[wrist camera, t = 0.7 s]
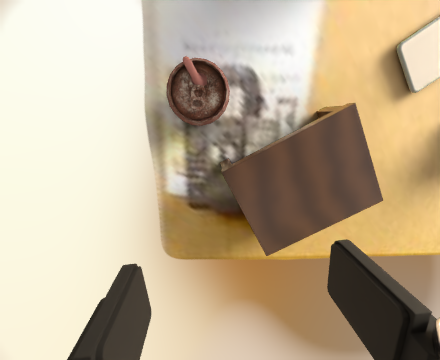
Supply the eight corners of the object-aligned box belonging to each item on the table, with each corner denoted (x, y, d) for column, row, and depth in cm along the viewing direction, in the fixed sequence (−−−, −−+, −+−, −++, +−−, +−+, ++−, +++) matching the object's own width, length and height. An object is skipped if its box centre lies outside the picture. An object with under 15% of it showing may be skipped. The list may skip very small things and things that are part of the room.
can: (206, 70, 32) (207, 37, 18) (226, 109, 33) (242, 104, 20) (172, 92, 32) (149, 75, 19) (194, 128, 34) (188, 137, 21)
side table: (326, 105, 34) (355, 102, 28) (352, 186, 39) (383, 200, 32) (218, 161, 36) (221, 172, 29) (256, 233, 41) (266, 256, 34)
